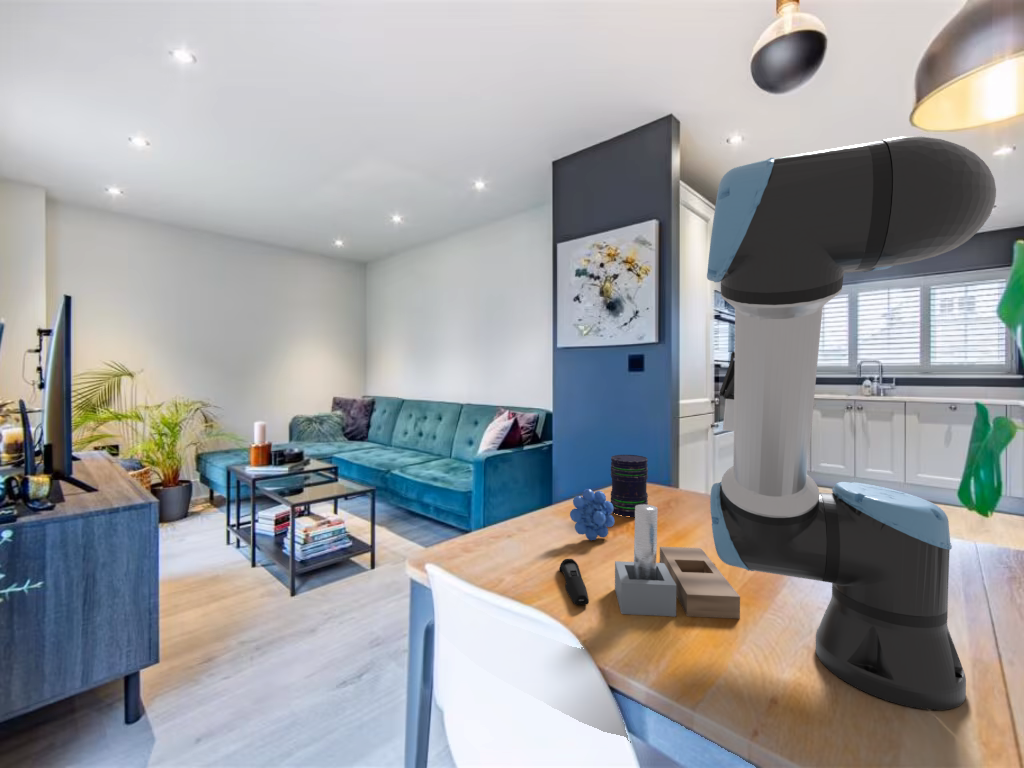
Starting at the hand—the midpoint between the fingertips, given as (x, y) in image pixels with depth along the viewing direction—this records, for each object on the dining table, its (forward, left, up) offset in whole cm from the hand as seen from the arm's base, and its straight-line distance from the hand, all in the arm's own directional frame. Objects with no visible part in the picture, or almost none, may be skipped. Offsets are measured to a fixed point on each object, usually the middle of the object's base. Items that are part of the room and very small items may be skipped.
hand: (749, 432), depth 90 cm
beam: (-8, +12, -27) cm, 31 cm away
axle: (-14, +22, -26) cm, 37 cm away
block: (-14, +22, -27) cm, 38 cm away
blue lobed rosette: (+13, +28, -27) cm, 41 cm away
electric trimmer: (-10, +34, -27) cm, 44 cm away
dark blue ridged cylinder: (+36, +17, -27) cm, 48 cm away
